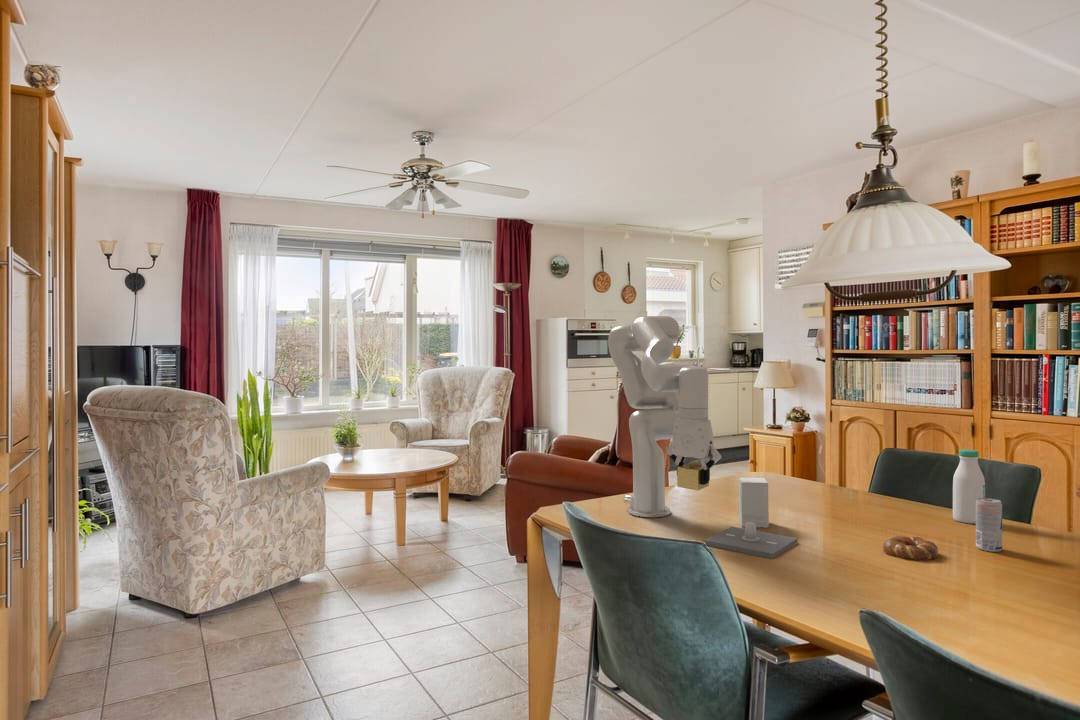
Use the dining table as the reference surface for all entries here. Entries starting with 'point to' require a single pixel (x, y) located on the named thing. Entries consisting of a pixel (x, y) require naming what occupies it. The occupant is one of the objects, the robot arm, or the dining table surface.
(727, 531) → the post base
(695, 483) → the tan boxy piece
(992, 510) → the energy drink
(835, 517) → the dining table surface
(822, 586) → the dining table surface
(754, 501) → the supplement box
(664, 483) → the robot arm
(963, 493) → the milk bottle
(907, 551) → the pretzel
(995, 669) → the dining table surface
